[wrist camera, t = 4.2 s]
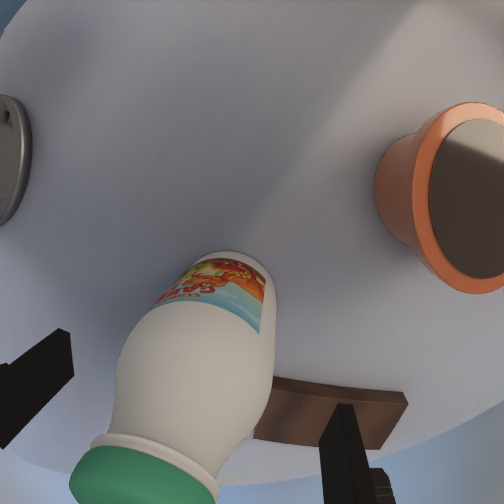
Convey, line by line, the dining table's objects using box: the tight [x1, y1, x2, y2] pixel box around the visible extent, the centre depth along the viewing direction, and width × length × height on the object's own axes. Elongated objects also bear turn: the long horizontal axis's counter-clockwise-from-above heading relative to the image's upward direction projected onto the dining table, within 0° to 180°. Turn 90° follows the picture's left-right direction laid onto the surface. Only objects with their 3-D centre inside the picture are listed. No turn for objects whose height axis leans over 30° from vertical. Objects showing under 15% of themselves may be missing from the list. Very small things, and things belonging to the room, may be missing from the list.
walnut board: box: [253, 376, 408, 450], centre depth 26 cm, size 14×7×2 cm, turn 79°
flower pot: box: [374, 102, 504, 294], centre depth 17 cm, size 11×11×9 cm
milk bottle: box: [69, 251, 276, 504], centre depth 15 cm, size 8×8×20 cm
